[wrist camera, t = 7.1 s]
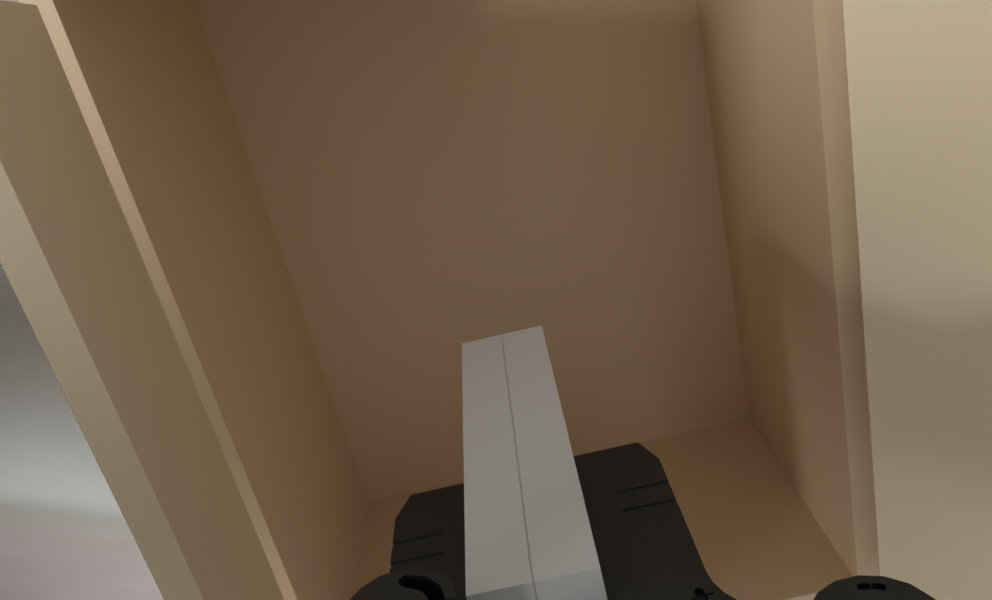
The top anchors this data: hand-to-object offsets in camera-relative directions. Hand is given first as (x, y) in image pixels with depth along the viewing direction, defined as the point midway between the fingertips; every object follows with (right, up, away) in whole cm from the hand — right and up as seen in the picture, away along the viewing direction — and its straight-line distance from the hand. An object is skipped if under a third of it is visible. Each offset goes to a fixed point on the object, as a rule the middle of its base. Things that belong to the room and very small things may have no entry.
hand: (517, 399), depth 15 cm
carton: (0, +4, +11) cm, 12 cm away
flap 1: (-7, -1, +2) cm, 7 cm away
